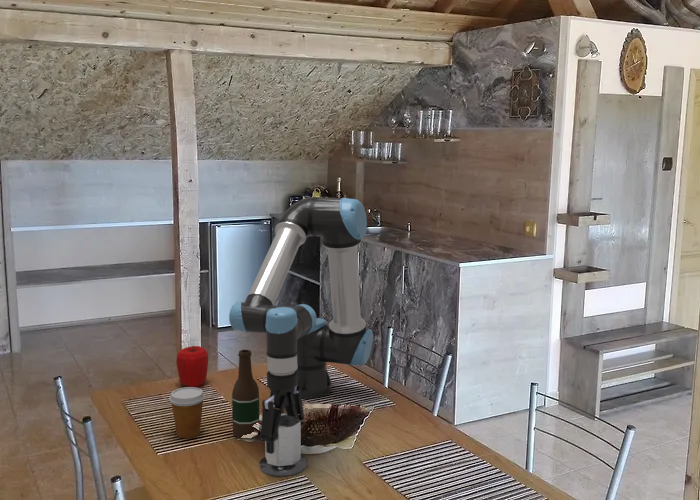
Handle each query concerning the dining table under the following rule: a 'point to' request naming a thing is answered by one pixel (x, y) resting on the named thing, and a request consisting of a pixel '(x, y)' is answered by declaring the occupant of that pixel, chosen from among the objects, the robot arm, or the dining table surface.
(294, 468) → the duct stub
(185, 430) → the disposable coffee cup
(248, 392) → the beer bottle
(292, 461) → the sleeve
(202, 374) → the apple
